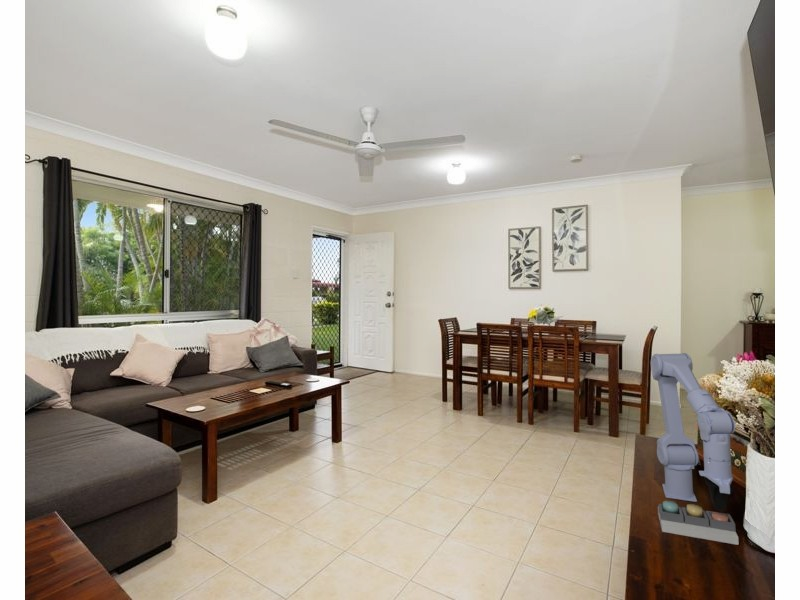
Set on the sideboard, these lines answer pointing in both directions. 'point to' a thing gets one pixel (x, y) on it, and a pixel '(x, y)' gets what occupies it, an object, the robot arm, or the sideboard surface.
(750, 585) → the sideboard surface
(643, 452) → the sideboard surface
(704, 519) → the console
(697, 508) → the ochre button
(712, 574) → the sideboard surface
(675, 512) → the teal button
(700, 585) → the sideboard surface
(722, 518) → the brick button
